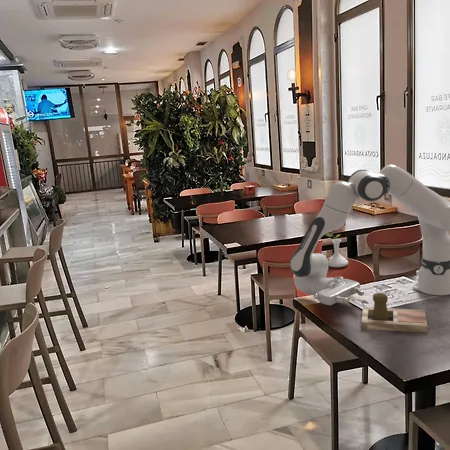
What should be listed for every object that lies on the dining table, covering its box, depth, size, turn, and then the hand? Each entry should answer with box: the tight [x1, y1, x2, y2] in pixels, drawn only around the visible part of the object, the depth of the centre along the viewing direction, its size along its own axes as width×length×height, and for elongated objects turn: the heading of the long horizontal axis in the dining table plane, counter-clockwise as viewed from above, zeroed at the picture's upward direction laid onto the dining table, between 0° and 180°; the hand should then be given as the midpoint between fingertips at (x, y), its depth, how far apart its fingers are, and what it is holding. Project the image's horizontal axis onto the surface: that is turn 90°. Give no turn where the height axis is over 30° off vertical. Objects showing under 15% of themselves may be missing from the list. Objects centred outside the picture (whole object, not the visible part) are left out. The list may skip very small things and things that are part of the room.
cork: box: [371, 292, 390, 321], centre depth 168 cm, size 6×6×11 cm
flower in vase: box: [325, 227, 349, 268], centre depth 234 cm, size 13×11×25 cm
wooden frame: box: [361, 306, 428, 334], centre depth 168 cm, size 14×22×3 cm, turn 71°
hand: (355, 297), depth 176 cm, fingers open, 8 cm apart
